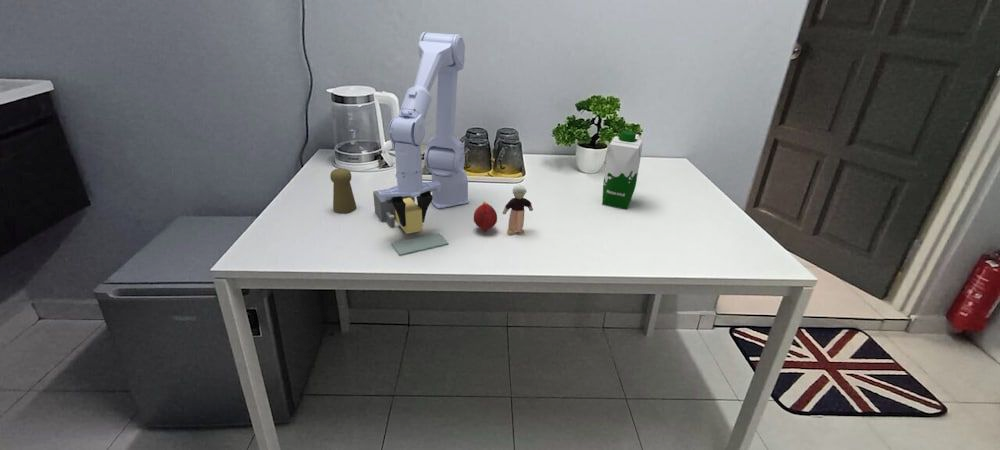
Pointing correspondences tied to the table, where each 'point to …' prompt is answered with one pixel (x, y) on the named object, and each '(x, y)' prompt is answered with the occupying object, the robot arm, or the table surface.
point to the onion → (485, 216)
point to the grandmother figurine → (517, 210)
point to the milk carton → (621, 170)
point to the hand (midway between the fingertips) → (412, 222)
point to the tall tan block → (411, 217)
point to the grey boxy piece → (386, 209)
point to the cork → (342, 191)
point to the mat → (419, 244)
